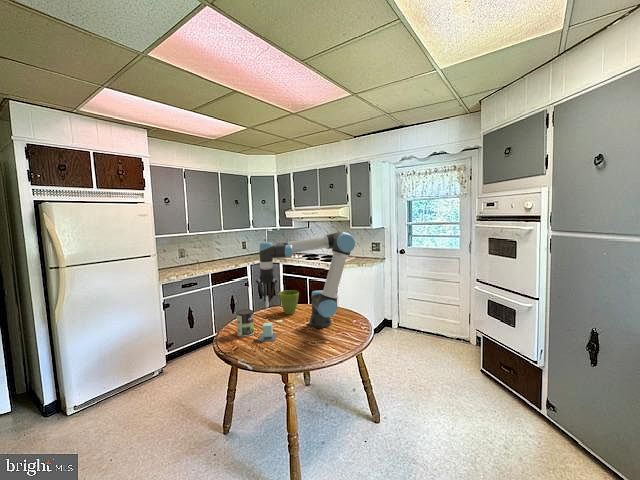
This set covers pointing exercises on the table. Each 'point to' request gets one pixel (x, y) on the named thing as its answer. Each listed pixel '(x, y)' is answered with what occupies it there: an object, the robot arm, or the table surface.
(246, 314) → the coffee can
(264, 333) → the mint green block
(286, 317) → the table surface
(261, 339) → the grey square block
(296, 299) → the flower pot
